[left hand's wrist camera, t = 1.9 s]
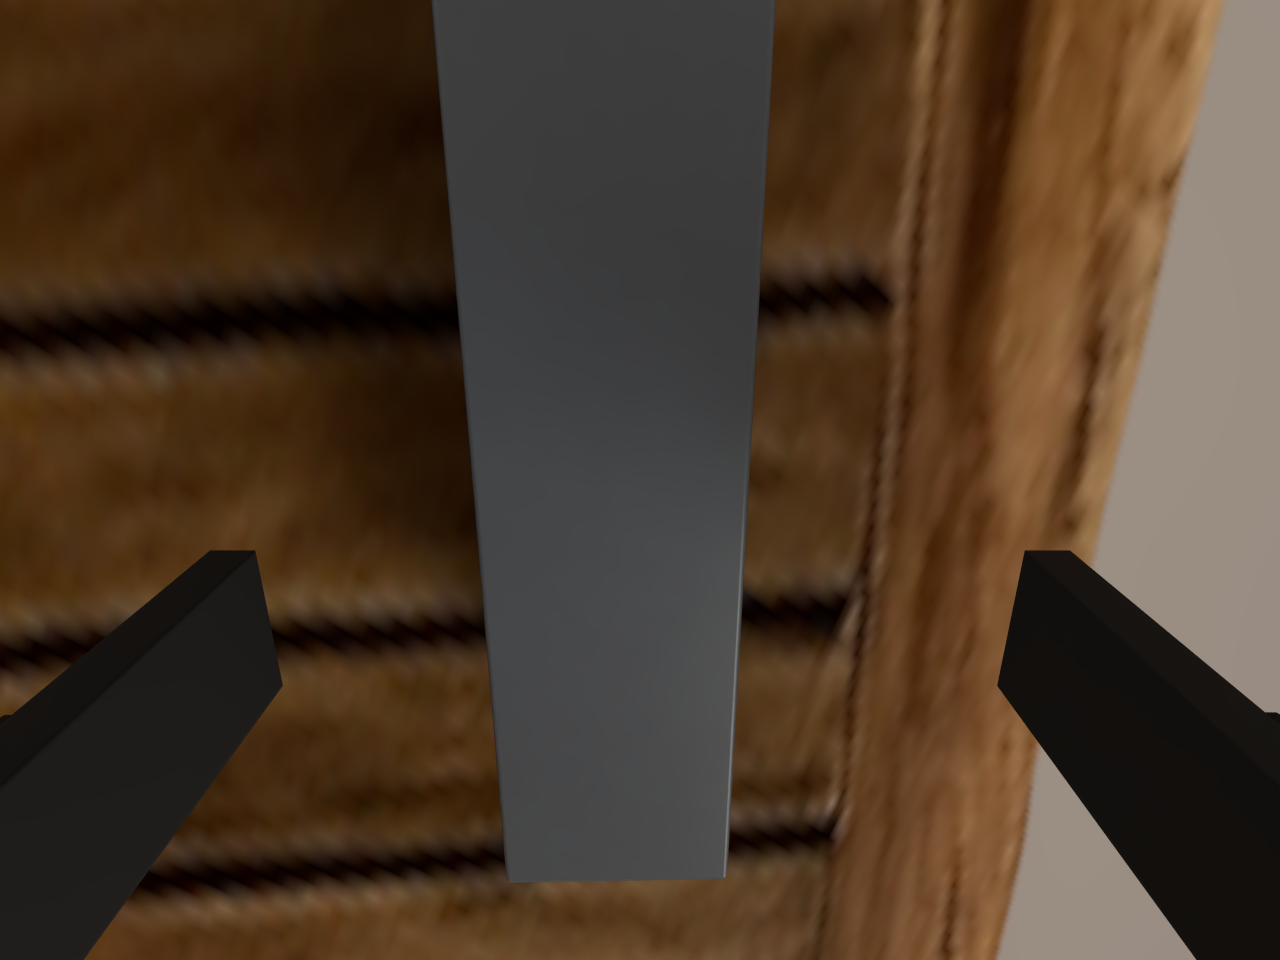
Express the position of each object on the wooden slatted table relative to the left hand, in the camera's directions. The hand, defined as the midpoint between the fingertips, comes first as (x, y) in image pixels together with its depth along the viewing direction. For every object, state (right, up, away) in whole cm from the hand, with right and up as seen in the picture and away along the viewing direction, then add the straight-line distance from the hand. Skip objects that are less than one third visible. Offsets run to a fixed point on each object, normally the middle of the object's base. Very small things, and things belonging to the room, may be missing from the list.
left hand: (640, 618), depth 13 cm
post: (-1, +34, -5) cm, 34 cm away
